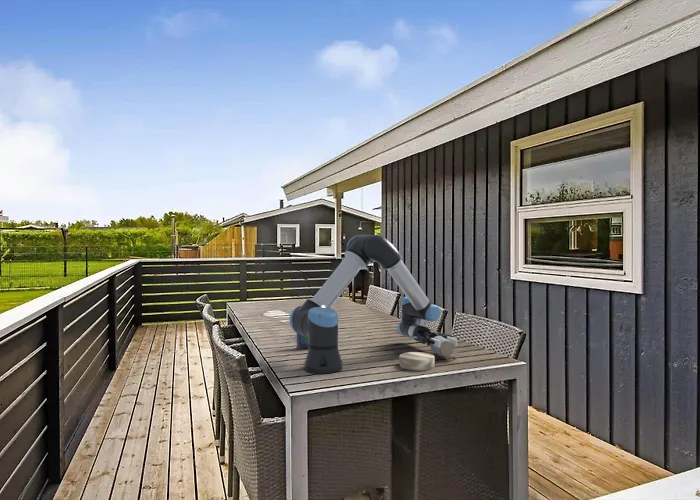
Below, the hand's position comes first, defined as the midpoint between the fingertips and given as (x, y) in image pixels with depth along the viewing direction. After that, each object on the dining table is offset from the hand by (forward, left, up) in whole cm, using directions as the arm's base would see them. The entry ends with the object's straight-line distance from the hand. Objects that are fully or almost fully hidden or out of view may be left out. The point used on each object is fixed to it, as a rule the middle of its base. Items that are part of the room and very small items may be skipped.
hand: (448, 343), depth 196 cm
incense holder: (+42, +44, -7) cm, 61 cm away
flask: (-25, +60, -7) cm, 66 cm away
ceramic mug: (+3, +3, -6) cm, 8 cm away
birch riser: (-15, +5, -8) cm, 18 cm away
